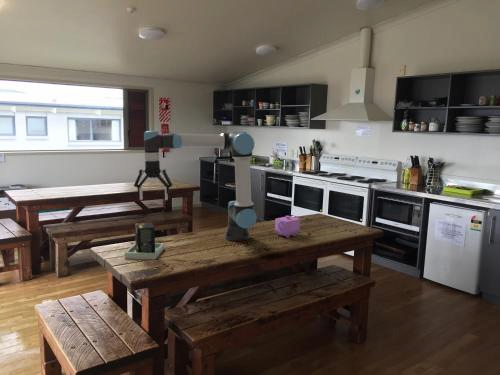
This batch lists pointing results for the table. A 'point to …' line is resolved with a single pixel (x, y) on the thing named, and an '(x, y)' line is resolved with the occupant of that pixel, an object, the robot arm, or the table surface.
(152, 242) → the tampon box
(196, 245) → the table surface
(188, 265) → the table surface
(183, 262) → the table surface
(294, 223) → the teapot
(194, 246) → the table surface
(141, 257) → the tray
